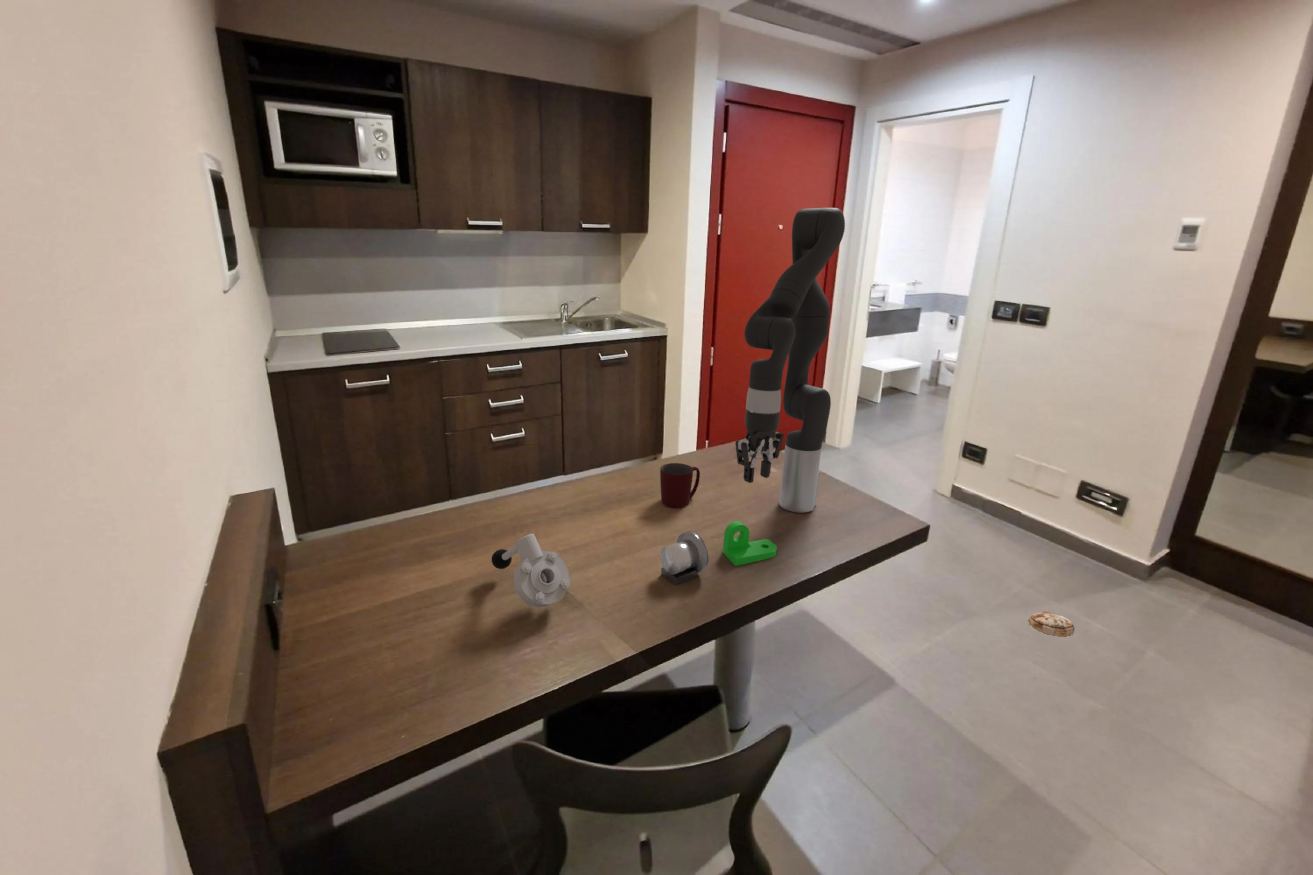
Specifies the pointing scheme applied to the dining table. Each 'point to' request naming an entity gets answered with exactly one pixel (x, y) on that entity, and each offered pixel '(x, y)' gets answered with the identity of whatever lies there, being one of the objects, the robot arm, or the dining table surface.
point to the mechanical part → (745, 546)
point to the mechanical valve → (535, 572)
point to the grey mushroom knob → (684, 558)
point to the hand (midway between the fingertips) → (756, 478)
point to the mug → (677, 484)
